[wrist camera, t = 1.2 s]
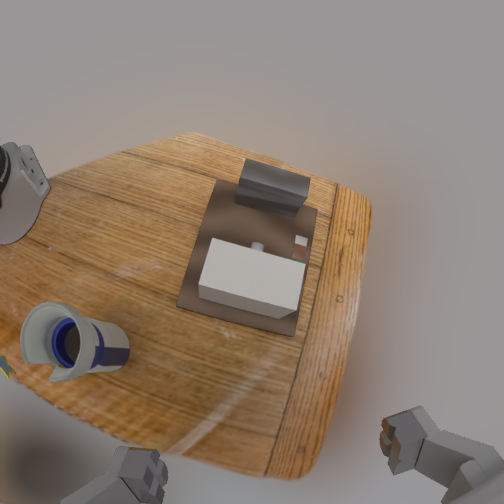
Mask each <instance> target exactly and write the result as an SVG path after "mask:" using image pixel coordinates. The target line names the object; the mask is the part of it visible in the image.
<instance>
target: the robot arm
mask: <svg viewBox="0 0 504 504" xmlns="http://www.w3.org/2000/svg"><path fill="white" fill-rule="evenodd" d="M42 184H43V185H42ZM49 190H50V184H49V182H48V180H47V178H46V176H45V174H44V172H43V170H42V168H41V166H40V164H39V162H38V160H37V158H36V156H35V154H34V152H33V149H32V148H31V146H29V145H24V146H20V147H18V146H17V145H16V144H15V143H14V142H10V143H6V144H3V145H1V146H0V244H10V243H13V242H15V241H17V240H18V239H20V238H21V237H22V236H23V235H25V234H26V233H27V231H28V230H29V229H30V228H31V226H32V225H33V223H34V221H35V220H36V218H37V215H38V213H39V210H40V207H41V204H42V201H43V200H44V198H45V197H46V195H47V194H48V192H49ZM381 426H382V428H383V431H382V432H381V433H380V447H381V450H382V452H383V454H384V455H385V456H387V457H389V460H388V465H389V467H390V469H391V471H392V473H393V475H396V474H400V473H403V472H405V471H408V470H411V469H414V468H415V470H417V471H418V472H420V473H422V474H424V475H425V476H427V477H429V478H430V479H432V480H434V481H436V482H438V483H439V484H441V485H443V486H445V487H447V488H448V490H447V492H446V494H445V495H444V497H443V499H442V500H441V503H442V504H504V460H503V459H502V457H501V456H500V455H499V454H498V452H497V451H496V450H495V449H494V447H493V446H490V445H487V444H484V443H480V442H477V441H474V440H471V439H468V438H465V437H462V436H459V435H456V434H454V433H451V432H448V431H445V430H443V431H440V430H439V428H438V427H437V426H436V424H435V423H434V421H433V420H432V419H431V417H430V416H429V415H428V413H427V412H426V411H425V409H424V408H423V407H422V406H417V407H415V408H412V409H409V410H406V411H403V412H400V413H397V414H394V415H392V416H389V417H386V418H383V420H382V424H381ZM159 457H160V454H159V452H158V451H157V449H148V448H135V447H123V446H119V447H118V448H117V449H116V451H115V453H114V455H113V458H112V460H111V462H110V464H109V467H108V469H107V472H106V474H105V475H100V476H99V477H97V478H96V479H95V480H93V481H92V482H90V483H89V484H87V485H85V486H84V487H82V488H81V489H79V490H78V491H76V492H75V493H73V494H71V495H70V496H68V497H66V498H65V499H63V500H61V502H60V504H141V503H145V504H162V502H163V497H164V493H165V492H164V490H163V488H162V487H163V486H164V485H165V484H167V480H168V470H167V467H166V465H165V463H164V462H163V461H162V460H160V459H159ZM0 504H9V503H7V502H5V501H3V500H2V499H0Z"/></svg>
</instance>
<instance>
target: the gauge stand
mask: <svg viewBox="0 0 504 504" xmlns="http://www.w3.org/2000/svg"><path fill="white" fill-rule="evenodd" d="M310 179H311V178H309V177H306V176H303V175H300V174H296V173H293V172H290V171H287V170H284V169H280V168H277V167H274V166H270V165H267V164H264V163H260V162H257V161H253V160H250V159H246V160H245V163H244V167H243V170H242V173H241V176H240V180H239V184H238V185H234V184H231V183H227V182H223V181H220V180H217V181H216V183H215V186H214V189H213V192H212V195H211V198H210V200H209V203H208V206H207V209H206V212H205V215H204V218H203V221H202V224H201V227H200V230H199V233H198V236H197V239H196V242H195V245H194V248H193V251H192V255H191V258H190V261H189V264H188V267H187V270H186V274H185V277H184V280H183V283H182V287H181V290H180V293H179V297H178V300H177V304H176V306H177V307H179V308H182V309H185V310H189V311H192V312H196V313H199V314H203V315H206V316H210V317H213V318H217V319H221V320H224V321H228V322H232V323H236V324H240V325H243V326H247V327H251V328H255V329H259V330H263V331H268V332H272V333H276V334H280V335H285V336H289V337H294V334H295V329H296V324H297V320H298V315H299V310H300V305H301V300H302V295H303V290H304V284H305V279H306V274H307V268H308V263H309V257H310V252H311V246H312V240H313V234H314V228H315V222H316V216H317V209H315V208H312V207H308V206H305V205H303V203H304V202H305V200H306V199H307V197H308V191H309V185H310ZM212 238H215V239H219V240H222V241H226V242H229V243H233V244H236V245H240V246H243V247H247V248H251V244H252V243H253V242H257V243H261V244H263V245H264V249H263V252H265V253H268V254H272V255H275V256H279V257H282V258H286V259H290V260H293V261H297V262H300V263H304V264H306V265H305V270H304V275H303V281H302V286H301V291H300V296H299V300H300V302H299V303H298V306H297V310H296V311H294V312H292V313H290V314H288V315H286V316H284V317H281V318H279V319H277V318H273V317H269V316H265V315H261V314H258V313H254V312H250V311H246V310H242V309H238V308H235V307H231V306H227V305H224V304H220V303H216V302H213V301H209V300H206V299H202V298H199V286H198V284H199V280H200V277H201V273H202V270H203V267H204V263H205V260H206V257H207V253H208V250H209V247H210V244H211V240H212Z"/></svg>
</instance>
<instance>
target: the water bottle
mask: <svg viewBox="0 0 504 504" xmlns="http://www.w3.org/2000/svg"><path fill="white" fill-rule="evenodd" d="M20 344H21V351H22V356H23V359H24V361H25V363H26V364H28V363H41V364H54V365H56V366H55V369H54V371H53V373H52V374H51V376H50V378H49V381H51V382H62V381H67V380H70V379H73V378H75V377H81V376H82V375H83V374H85V373H86V372H88V373H93V372H111V371H115V370H118V369H120V368H121V367H122V366H123V365H124V364H125V363H126V361H127V359H128V357H129V353H130V344H129V340H128V338H127V335H126V334H125V332H124V331H123V330H122V329H121V328H120V327H119V326H117V325H115V324H113V323H110V322H104V321H99V320H96V319H92V318H85V317H84V316H82V315H81V314H80V313H79V312H77V311H76V310H75V309H74V308H72V307H70V306H69V305H66V304H64V303H61V302H54V301H50V302H44V303H42V304H39V305H37V306H36V307H34V308H33V309H32V310H31V311H30V312H29V313H28V315H27V317H26V318H25V320H24V323H23V325H22V329H21V335H20ZM0 369H1V370H2V372H3V373H4V374H5V376H6V377H7V378H8V379H9V372H11V373H14V374H16V372H15V371H14V370H13V369H12V368H11V367H10V366H9V365H8V363H7V360H6V358H5V356H0Z"/></svg>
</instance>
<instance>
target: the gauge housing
mask: <svg viewBox="0 0 504 504" xmlns="http://www.w3.org/2000/svg"><path fill="white" fill-rule="evenodd" d="M263 249H264V245H263V244H261V243H257V242H253V243H252V244H251V248H247V247H243V246H240V245H236V244H233V243H229V242H226V241H222V240H219V239H215V238H212V240H211V244H210V247H209V250H208V253H207V257H206V260H205V263H204V267H203V270H202V273H201V277H200V280H199V284H198V286H199V298H202V299H206V300H209V301H213V302H216V303H220V304H224V305H227V306H231V307H235V308H238V309H242V310H246V311H250V312H254V313H258V314H261V315H265V316H269V317H273V318H277V319H279V318H281V317H284V316H286V315H288V314H290V313H292V312H294V311H296V310H297V306H298V303H299V302H300V300H299V296H300V291H301V286H302V281H303V275H304V270H305V265H306V264H304V263H300V262H297V261H293V260H290V259H286V258H282V257H279V256H275V255H272V254H268V253H265V252H263Z"/></svg>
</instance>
